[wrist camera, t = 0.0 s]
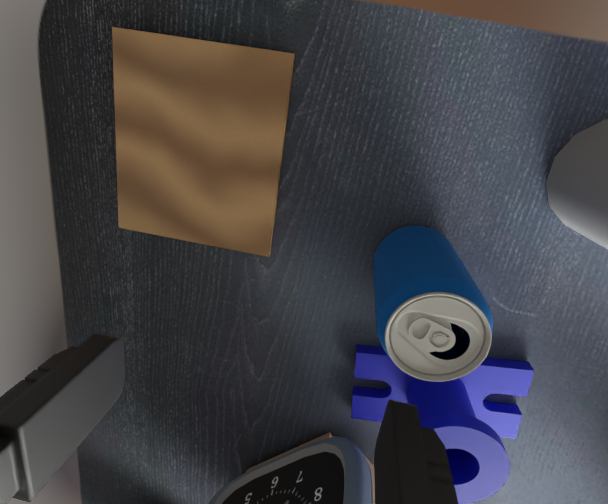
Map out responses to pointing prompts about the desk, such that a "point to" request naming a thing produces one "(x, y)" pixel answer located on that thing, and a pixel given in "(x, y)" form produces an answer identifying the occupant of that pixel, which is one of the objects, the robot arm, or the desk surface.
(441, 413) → the mount
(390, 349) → the beverage can
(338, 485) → the alarm clock
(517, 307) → the desk surface
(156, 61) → the cork mat
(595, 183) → the cup
